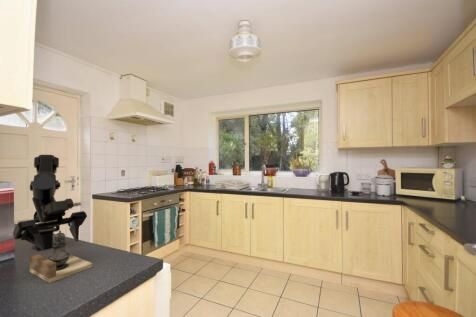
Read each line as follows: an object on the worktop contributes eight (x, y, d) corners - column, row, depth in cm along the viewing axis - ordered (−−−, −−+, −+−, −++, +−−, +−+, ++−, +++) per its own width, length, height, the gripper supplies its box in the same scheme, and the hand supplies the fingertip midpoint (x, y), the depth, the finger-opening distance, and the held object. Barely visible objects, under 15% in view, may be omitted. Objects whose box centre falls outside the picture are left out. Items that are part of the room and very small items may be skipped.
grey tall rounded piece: (44, 273, 70) (44, 233, 70) (51, 265, 75) (52, 228, 76) (67, 269, 72) (68, 231, 72) (72, 262, 78) (73, 227, 78)
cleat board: (29, 271, 73) (29, 255, 73) (71, 258, 84) (71, 244, 84) (49, 283, 66) (49, 265, 67) (92, 266, 77) (92, 251, 77)
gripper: (17, 195, 68) (32, 238, 62) (85, 189, 84) (101, 223, 78) (7, 218, 72) (20, 261, 66) (73, 208, 88) (88, 241, 82)
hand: (61, 245), depth 73 cm, fingers open, 9 cm apart
